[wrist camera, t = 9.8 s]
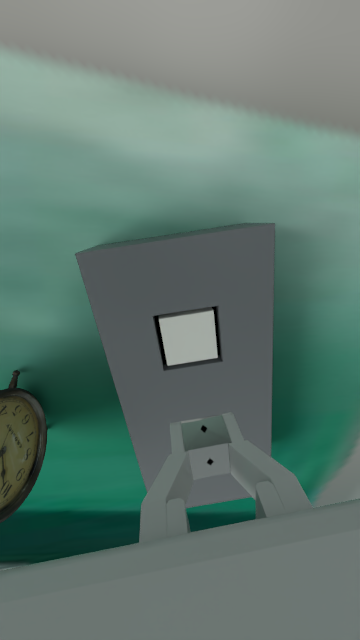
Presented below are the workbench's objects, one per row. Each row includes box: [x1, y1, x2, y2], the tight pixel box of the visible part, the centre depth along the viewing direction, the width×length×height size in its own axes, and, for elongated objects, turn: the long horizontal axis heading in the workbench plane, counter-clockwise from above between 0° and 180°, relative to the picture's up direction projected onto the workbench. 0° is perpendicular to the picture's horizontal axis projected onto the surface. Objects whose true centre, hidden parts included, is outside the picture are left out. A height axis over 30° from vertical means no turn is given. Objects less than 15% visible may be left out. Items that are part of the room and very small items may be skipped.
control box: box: [75, 223, 275, 508], centre depth 25 cm, size 14×30×6 cm, turn 8°
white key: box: [159, 307, 218, 366], centre depth 21 cm, size 4×4×3 cm
